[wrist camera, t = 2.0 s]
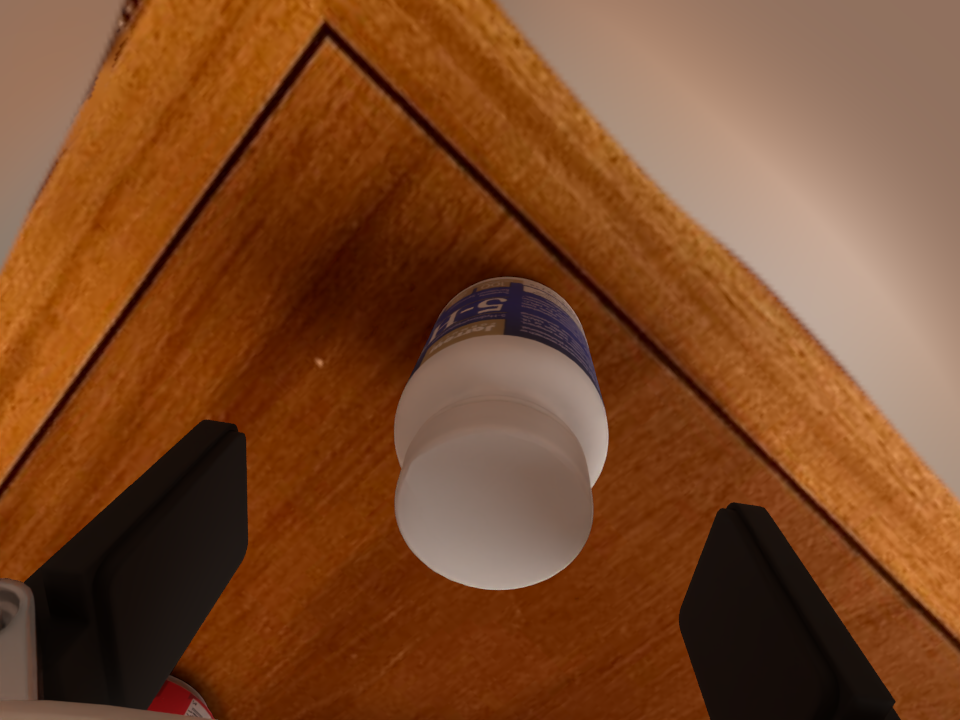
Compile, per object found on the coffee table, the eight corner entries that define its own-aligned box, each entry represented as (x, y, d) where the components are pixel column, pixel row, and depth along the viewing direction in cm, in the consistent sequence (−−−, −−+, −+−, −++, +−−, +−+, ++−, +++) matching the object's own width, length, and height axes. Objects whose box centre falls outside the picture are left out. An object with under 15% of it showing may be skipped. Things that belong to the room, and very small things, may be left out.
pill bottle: (494, 240, 18) (469, 336, 9) (617, 338, 19) (690, 501, 10) (401, 359, 19) (313, 526, 11) (517, 442, 20) (513, 652, 12)
